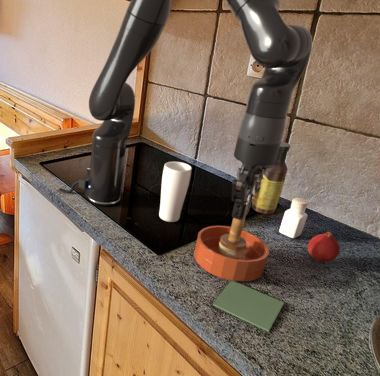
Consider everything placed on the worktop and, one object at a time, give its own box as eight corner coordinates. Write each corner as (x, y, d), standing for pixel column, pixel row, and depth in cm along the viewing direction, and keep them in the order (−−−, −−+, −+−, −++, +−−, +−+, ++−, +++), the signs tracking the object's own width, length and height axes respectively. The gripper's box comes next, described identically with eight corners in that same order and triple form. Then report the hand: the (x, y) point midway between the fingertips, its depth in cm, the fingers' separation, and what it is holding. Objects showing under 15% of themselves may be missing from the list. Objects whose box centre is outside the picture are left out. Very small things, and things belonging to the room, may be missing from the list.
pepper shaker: (286, 228, 105) (296, 195, 101) (301, 235, 102) (313, 201, 98) (277, 232, 103) (287, 199, 99) (293, 239, 100) (304, 205, 96)
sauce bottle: (252, 202, 118) (270, 137, 109) (276, 209, 114) (296, 142, 106) (248, 211, 113) (266, 143, 104) (272, 218, 110) (293, 148, 101)
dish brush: (214, 252, 88) (227, 194, 83) (223, 242, 92) (236, 186, 86) (238, 261, 85) (254, 202, 79) (246, 251, 89) (262, 194, 83)
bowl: (182, 263, 89) (187, 242, 87) (208, 239, 99) (212, 219, 97) (250, 293, 81) (256, 270, 79) (270, 262, 91) (277, 241, 88)
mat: (212, 305, 77) (212, 303, 77) (231, 281, 84) (231, 279, 84) (268, 332, 71) (269, 330, 71) (283, 304, 78) (284, 302, 78)
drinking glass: (179, 213, 111) (188, 162, 105) (184, 225, 105) (194, 172, 98) (154, 211, 111) (162, 160, 105) (157, 223, 105) (166, 170, 99)
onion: (307, 251, 95) (318, 222, 92) (336, 262, 91) (348, 232, 88) (300, 261, 91) (311, 231, 88) (329, 273, 88) (342, 242, 84)
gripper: (250, 125, 85) (232, 199, 92) (226, 140, 75) (208, 221, 82) (290, 133, 80) (268, 210, 87) (270, 149, 71) (247, 234, 78)
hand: (239, 215), depth 85 cm, fingers closed on dish brush
